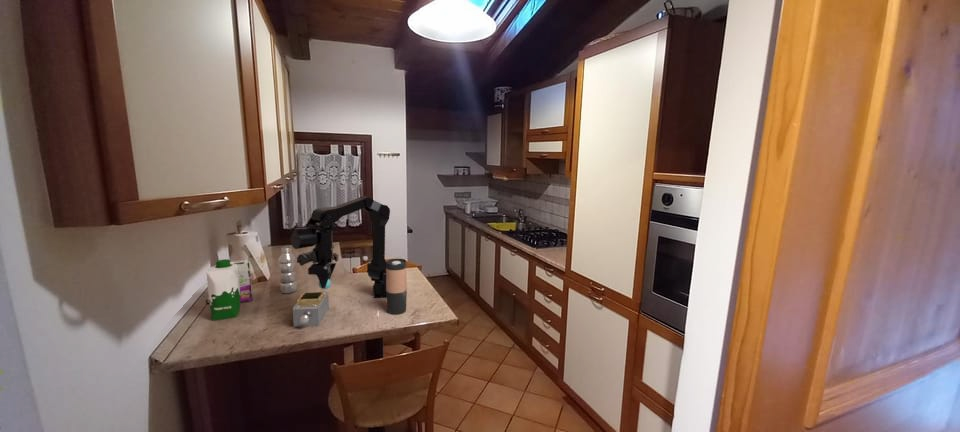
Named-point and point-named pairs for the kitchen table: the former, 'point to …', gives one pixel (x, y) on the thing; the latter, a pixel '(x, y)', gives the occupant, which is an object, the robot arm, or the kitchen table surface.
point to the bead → (326, 284)
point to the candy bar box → (244, 279)
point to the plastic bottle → (287, 270)
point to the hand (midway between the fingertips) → (324, 286)
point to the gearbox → (310, 309)
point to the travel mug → (396, 286)
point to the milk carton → (223, 290)
